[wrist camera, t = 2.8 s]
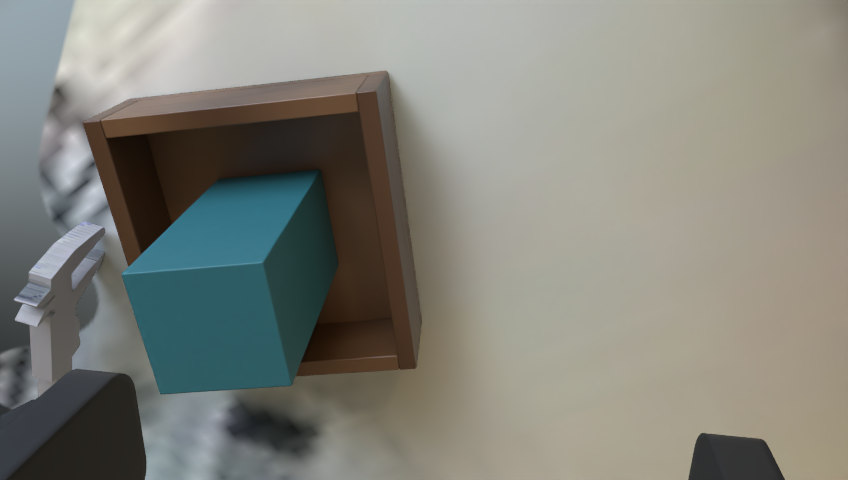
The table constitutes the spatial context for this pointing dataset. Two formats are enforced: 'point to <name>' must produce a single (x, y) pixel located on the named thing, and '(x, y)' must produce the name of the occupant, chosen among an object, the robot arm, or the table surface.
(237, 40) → the table surface
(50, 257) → the caliper
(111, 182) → the box
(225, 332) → the block
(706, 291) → the table surface
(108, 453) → the robot arm
